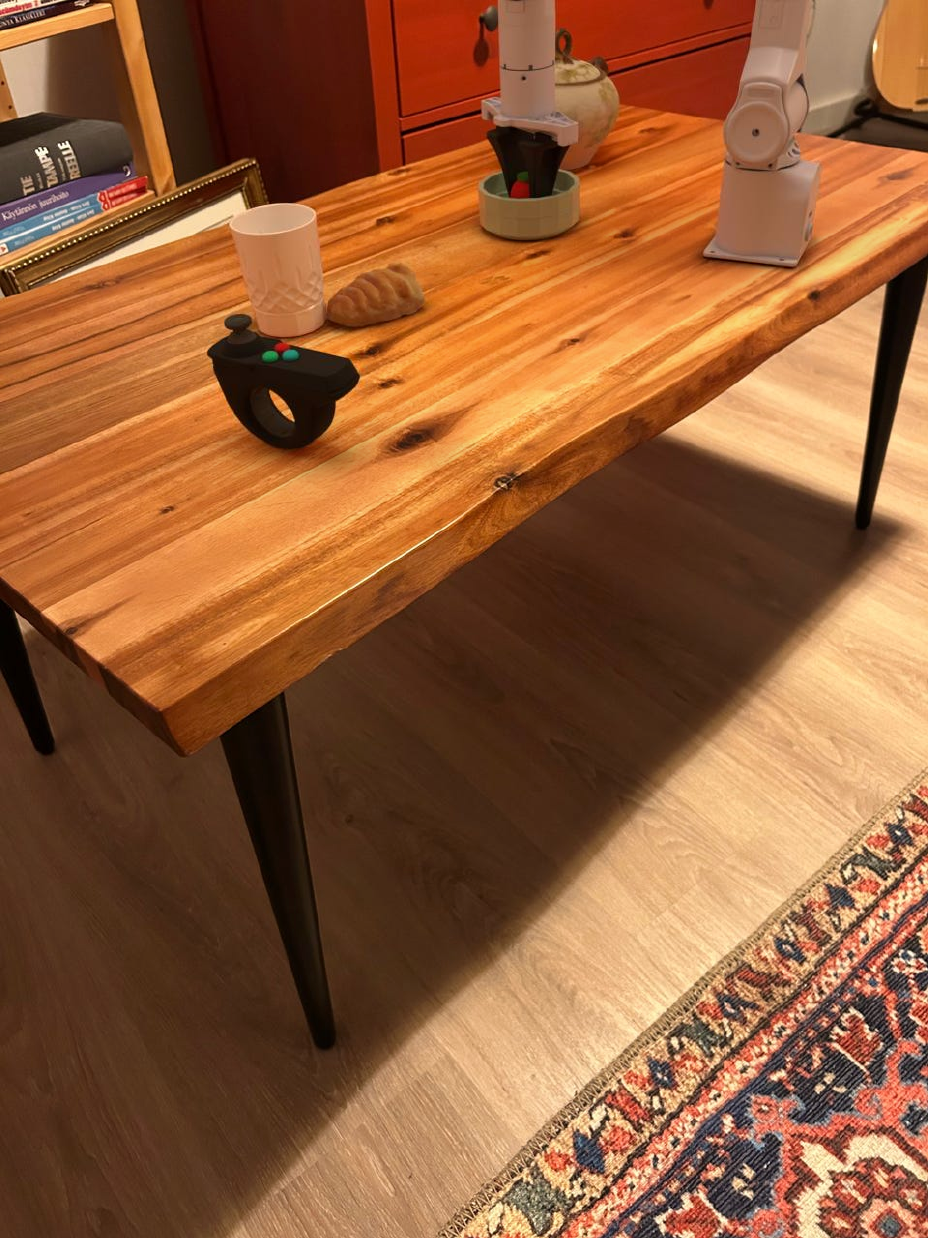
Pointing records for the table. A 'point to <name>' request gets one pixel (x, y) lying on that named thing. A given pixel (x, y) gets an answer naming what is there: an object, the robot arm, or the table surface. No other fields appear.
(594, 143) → the cream ceramic round pot
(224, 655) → the table surface
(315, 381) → the controller
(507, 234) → the bowl
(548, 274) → the table surface
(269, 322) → the white cup
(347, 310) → the pastry
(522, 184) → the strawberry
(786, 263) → the robot arm
